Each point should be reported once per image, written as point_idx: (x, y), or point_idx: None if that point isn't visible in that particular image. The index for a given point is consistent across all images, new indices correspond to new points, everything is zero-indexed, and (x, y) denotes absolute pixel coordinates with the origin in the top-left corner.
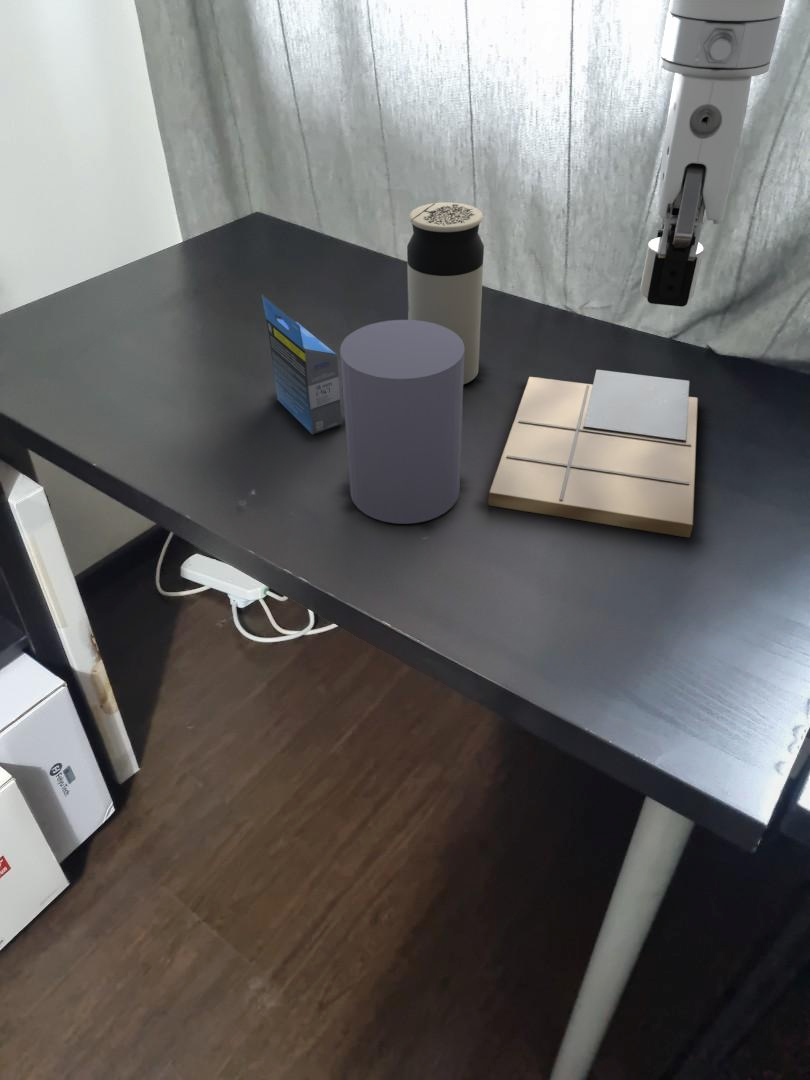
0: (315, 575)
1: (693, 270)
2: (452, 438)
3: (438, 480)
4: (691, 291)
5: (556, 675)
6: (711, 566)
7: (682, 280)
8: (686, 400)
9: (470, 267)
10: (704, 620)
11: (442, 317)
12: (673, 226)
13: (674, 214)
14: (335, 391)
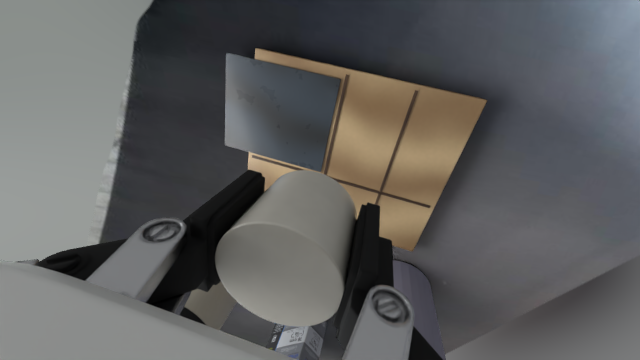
0: (472, 335)
1: (376, 253)
2: (424, 321)
3: (430, 302)
4: (337, 192)
5: (629, 233)
6: (530, 84)
7: (392, 263)
8: (265, 63)
9: (193, 319)
10: (610, 108)
11: (234, 299)
12: (195, 282)
13: (155, 295)
14: (309, 333)
